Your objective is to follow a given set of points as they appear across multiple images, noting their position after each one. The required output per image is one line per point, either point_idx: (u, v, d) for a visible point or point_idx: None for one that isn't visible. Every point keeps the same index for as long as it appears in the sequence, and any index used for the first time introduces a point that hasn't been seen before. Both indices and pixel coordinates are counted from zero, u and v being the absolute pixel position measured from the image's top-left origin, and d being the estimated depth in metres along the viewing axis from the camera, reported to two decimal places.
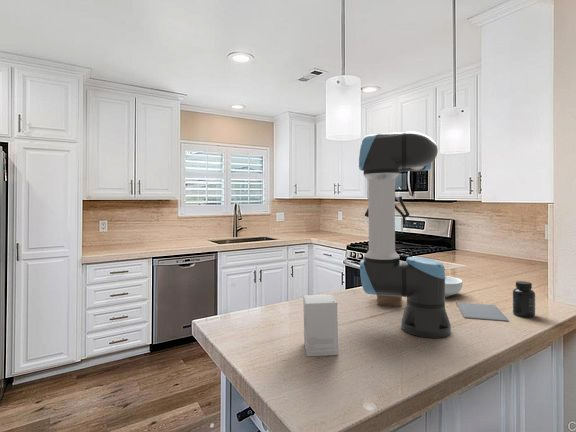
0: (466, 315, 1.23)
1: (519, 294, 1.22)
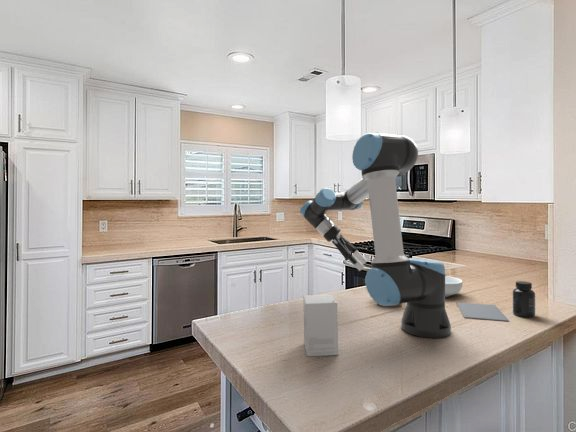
0: (466, 315, 1.23)
1: (519, 294, 1.22)
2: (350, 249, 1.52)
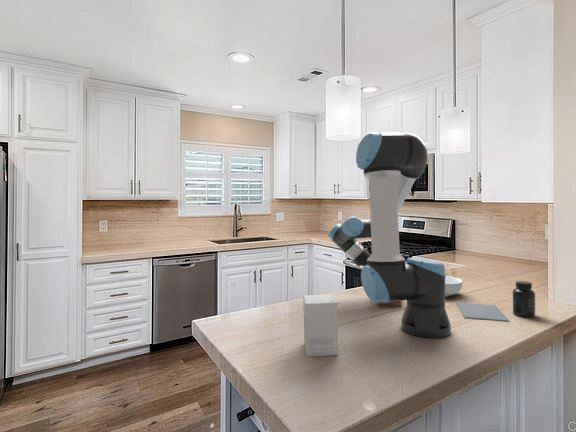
0: (466, 315, 1.23)
1: (519, 294, 1.22)
2: None
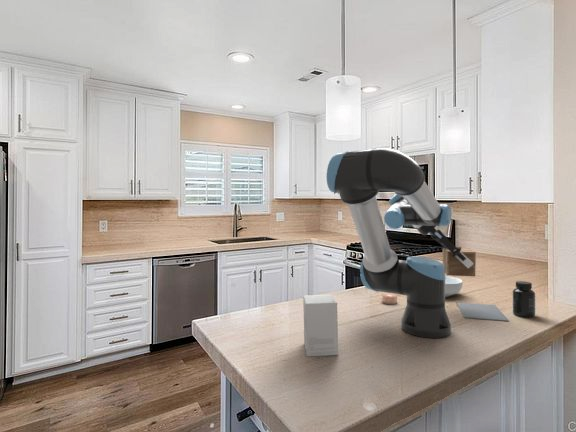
0: (466, 315, 1.23)
1: (519, 294, 1.22)
2: None
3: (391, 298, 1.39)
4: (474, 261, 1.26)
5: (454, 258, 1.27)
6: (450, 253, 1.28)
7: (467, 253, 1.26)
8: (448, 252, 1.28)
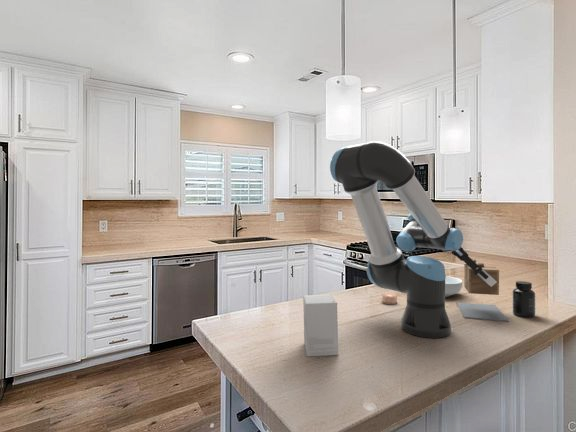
0: (466, 315, 1.23)
1: (519, 294, 1.22)
2: None
3: (391, 298, 1.39)
4: (497, 279, 1.22)
5: (476, 276, 1.24)
6: (472, 271, 1.24)
7: (490, 271, 1.23)
8: (470, 270, 1.25)
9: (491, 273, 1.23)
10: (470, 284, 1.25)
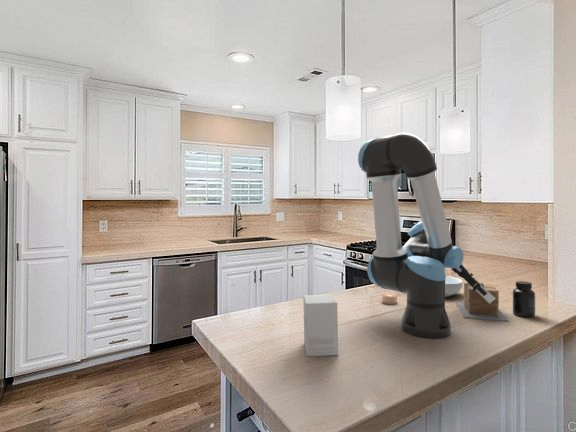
0: (466, 315, 1.23)
1: (519, 294, 1.22)
2: None
3: (391, 298, 1.39)
4: (497, 300, 1.22)
5: (476, 296, 1.24)
6: (472, 291, 1.25)
7: (490, 292, 1.23)
8: (469, 290, 1.25)
9: (491, 294, 1.23)
10: (470, 304, 1.25)
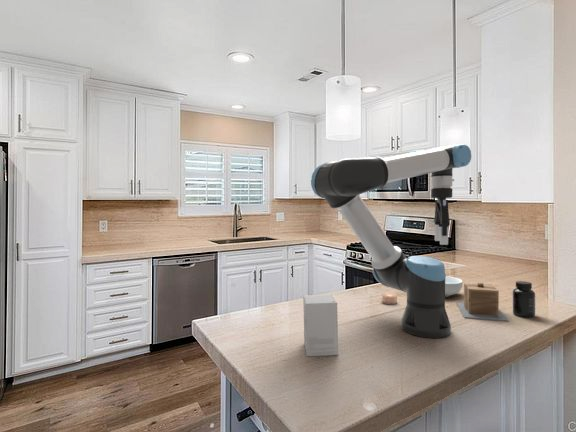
0: (466, 315, 1.23)
1: (519, 294, 1.22)
2: (438, 219, 1.37)
3: (391, 298, 1.39)
4: (497, 300, 1.22)
5: (476, 296, 1.24)
6: (472, 291, 1.25)
7: (490, 292, 1.23)
8: (469, 290, 1.25)
9: (491, 294, 1.23)
10: (470, 304, 1.25)
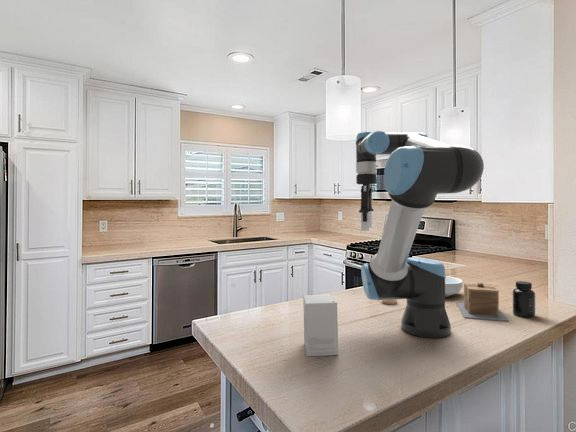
0: (466, 315, 1.23)
1: (519, 294, 1.22)
2: None
3: None
4: (497, 300, 1.22)
5: (476, 296, 1.24)
6: (472, 291, 1.25)
7: (490, 292, 1.23)
8: (469, 290, 1.25)
9: (491, 294, 1.23)
10: (470, 304, 1.25)
